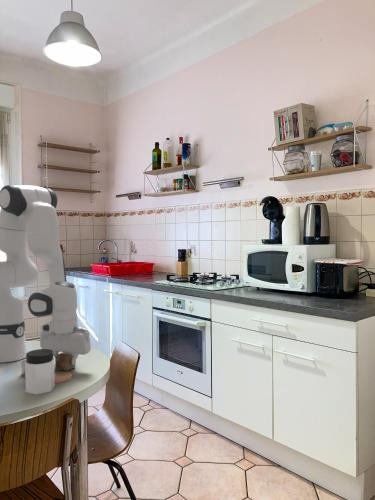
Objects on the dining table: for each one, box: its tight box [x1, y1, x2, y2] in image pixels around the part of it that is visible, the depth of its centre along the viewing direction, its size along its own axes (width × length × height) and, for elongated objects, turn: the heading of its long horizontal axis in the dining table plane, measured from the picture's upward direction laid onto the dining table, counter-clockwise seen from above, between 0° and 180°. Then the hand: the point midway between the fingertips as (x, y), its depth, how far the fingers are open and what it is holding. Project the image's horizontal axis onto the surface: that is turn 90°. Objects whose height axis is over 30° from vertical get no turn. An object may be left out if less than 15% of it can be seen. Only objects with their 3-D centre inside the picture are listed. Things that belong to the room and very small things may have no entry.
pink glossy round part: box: [54, 371, 73, 384], centre depth 141 cm, size 9×9×1 cm
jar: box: [24, 348, 56, 396], centre depth 130 cm, size 9×8×12 cm
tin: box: [20, 359, 26, 377], centre depth 145 cm, size 5×5×5 cm
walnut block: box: [54, 352, 76, 372], centre depth 151 cm, size 5×5×5 cm
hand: (65, 363), depth 151 cm, fingers closed on walnut block, 5 cm apart
